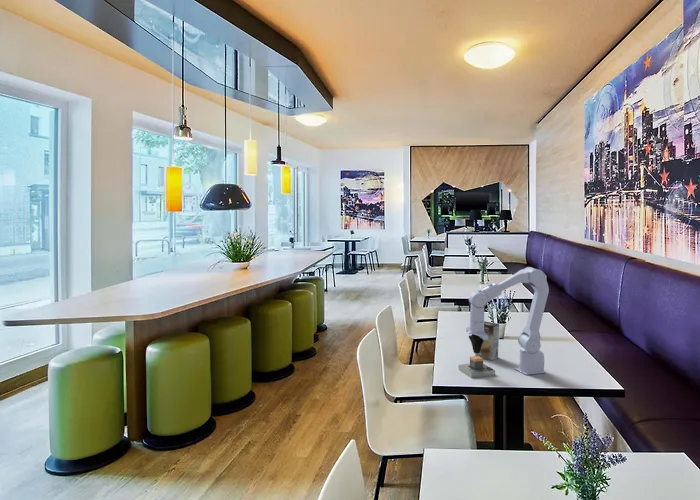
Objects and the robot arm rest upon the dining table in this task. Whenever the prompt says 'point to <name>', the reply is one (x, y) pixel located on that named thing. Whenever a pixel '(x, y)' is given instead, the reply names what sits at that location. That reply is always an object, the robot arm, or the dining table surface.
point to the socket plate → (476, 371)
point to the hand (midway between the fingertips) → (476, 352)
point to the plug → (476, 363)
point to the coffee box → (490, 342)
